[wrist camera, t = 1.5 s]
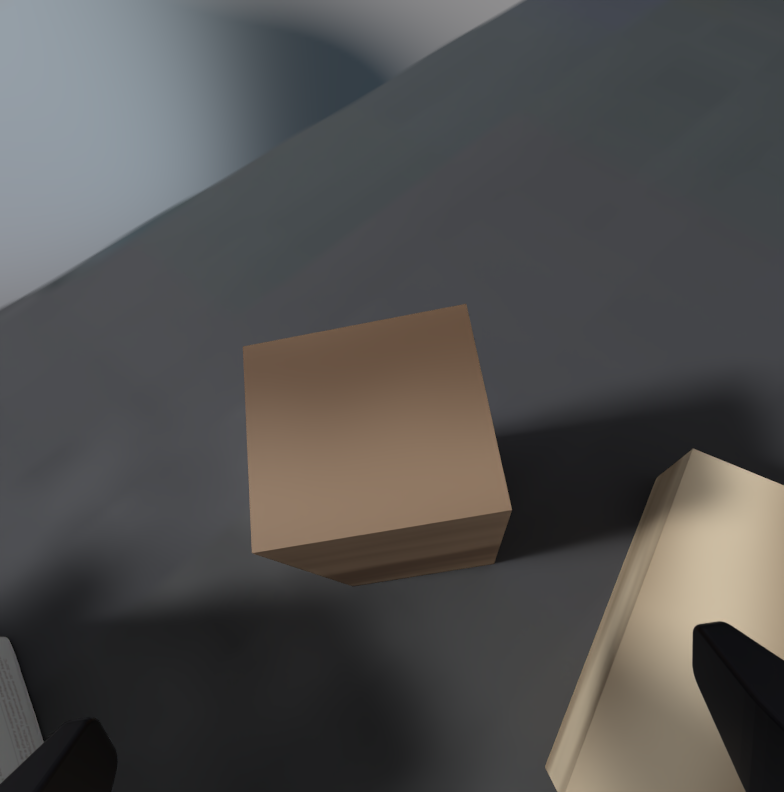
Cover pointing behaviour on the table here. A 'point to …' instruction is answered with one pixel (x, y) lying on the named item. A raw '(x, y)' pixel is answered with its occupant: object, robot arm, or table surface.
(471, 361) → the walnut block
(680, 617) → the beech block
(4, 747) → the supplement box
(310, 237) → the table surface
